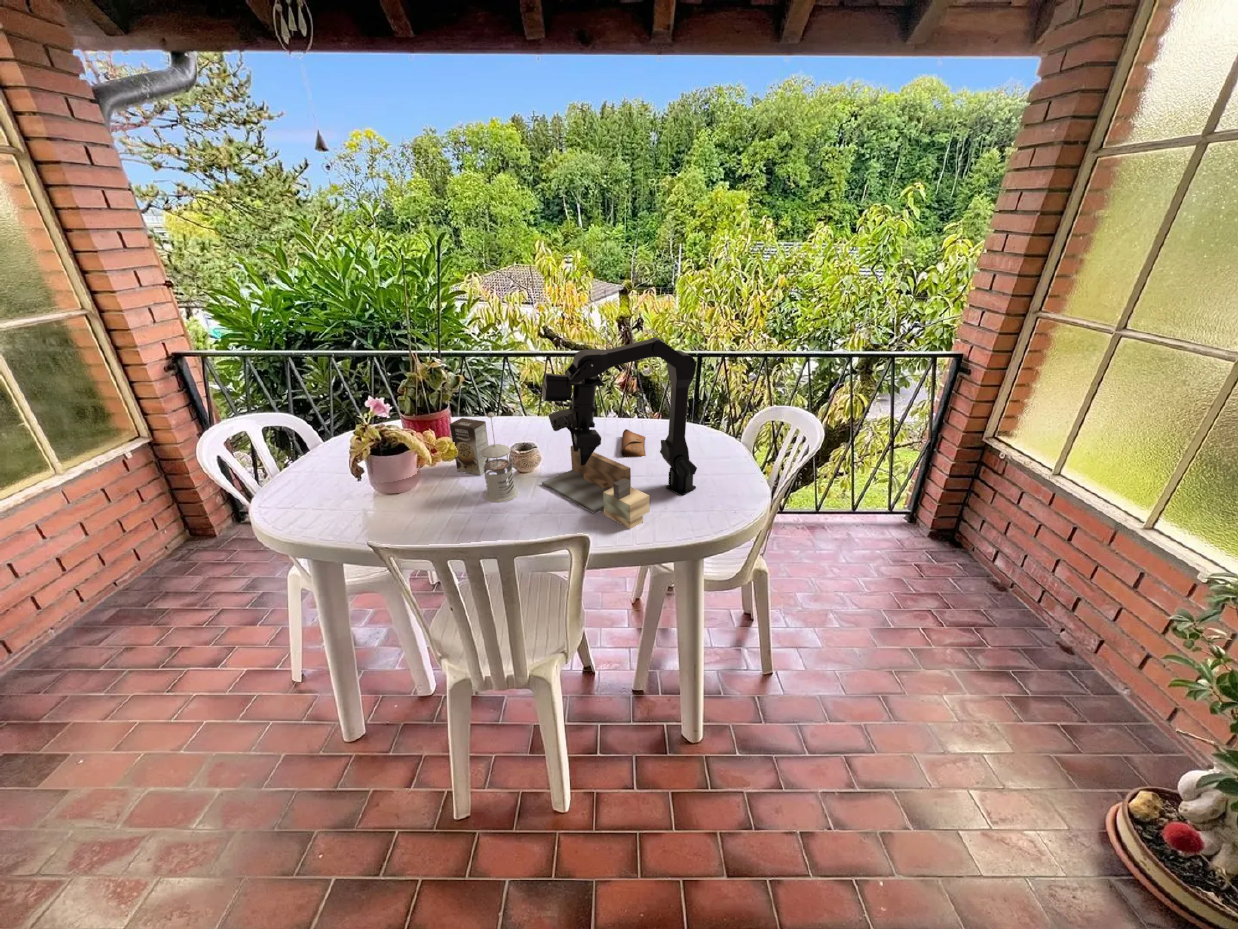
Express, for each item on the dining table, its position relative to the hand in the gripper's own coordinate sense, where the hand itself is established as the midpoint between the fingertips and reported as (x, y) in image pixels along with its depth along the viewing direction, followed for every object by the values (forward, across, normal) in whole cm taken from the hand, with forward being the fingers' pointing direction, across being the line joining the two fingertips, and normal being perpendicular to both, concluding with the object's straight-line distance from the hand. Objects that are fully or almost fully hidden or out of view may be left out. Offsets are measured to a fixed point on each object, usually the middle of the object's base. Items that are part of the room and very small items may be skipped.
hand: (579, 458), depth 138 cm
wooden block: (+13, +10, +12) cm, 20 cm away
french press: (+17, -13, -19) cm, 28 cm away
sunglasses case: (+11, -34, +27) cm, 45 cm away
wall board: (+14, -8, +5) cm, 16 cm away
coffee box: (+18, -32, -26) cm, 45 cm away
